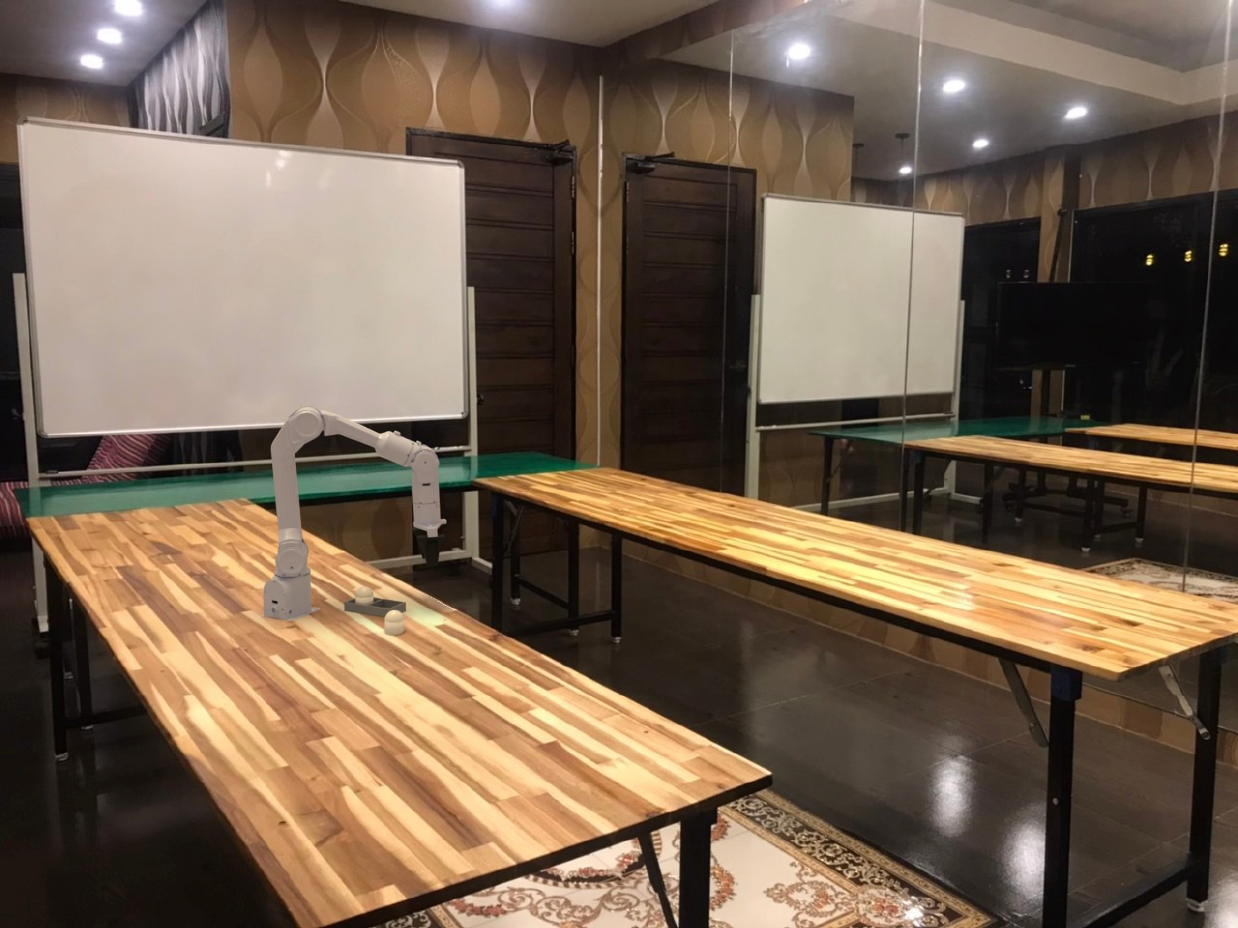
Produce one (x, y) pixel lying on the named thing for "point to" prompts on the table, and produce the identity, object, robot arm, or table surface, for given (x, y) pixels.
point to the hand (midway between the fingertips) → (429, 562)
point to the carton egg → (364, 596)
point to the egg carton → (375, 607)
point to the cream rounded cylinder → (394, 623)
